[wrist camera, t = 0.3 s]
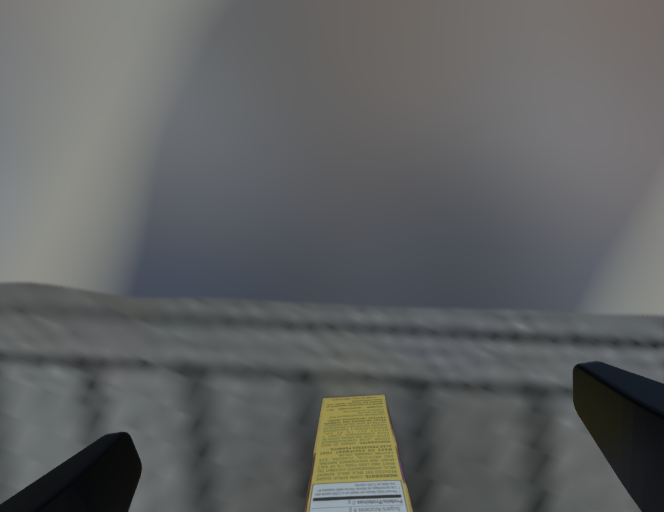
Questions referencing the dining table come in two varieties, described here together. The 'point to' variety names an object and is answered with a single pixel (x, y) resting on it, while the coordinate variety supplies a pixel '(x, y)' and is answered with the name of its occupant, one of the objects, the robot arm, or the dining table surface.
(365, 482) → the candy box
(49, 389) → the dining table surface
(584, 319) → the dining table surface
